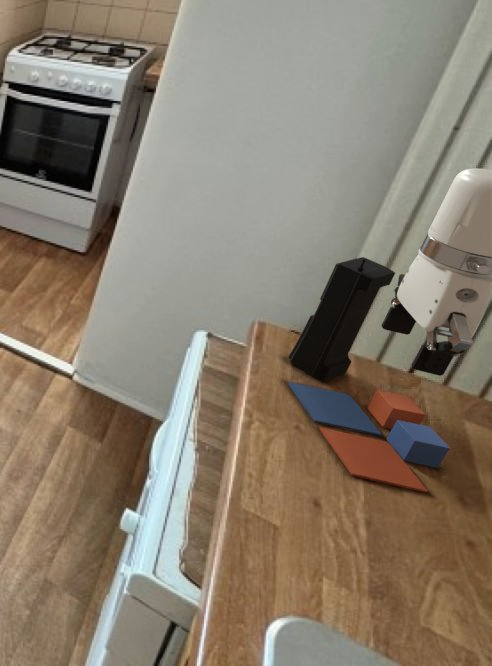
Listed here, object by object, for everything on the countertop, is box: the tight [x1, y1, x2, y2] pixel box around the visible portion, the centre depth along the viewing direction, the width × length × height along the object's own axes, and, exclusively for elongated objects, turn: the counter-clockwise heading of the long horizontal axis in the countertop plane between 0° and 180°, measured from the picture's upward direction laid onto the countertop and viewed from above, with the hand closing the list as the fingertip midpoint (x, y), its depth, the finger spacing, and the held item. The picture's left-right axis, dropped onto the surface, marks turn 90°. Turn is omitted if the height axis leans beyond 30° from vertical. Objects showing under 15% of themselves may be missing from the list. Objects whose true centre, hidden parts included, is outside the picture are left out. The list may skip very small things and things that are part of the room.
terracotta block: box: [367, 389, 426, 430], centre depth 100 cm, size 4×4×4 cm
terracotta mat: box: [319, 427, 429, 494], centre depth 93 cm, size 9×9×1 cm
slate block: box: [386, 420, 450, 469], centre depth 94 cm, size 4×4×4 cm
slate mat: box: [287, 381, 383, 437], centre depth 103 cm, size 9×9×1 cm
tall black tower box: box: [288, 256, 396, 382], centre depth 107 cm, size 8×6×25 cm
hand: (409, 350), depth 91 cm, fingers open, 9 cm apart
